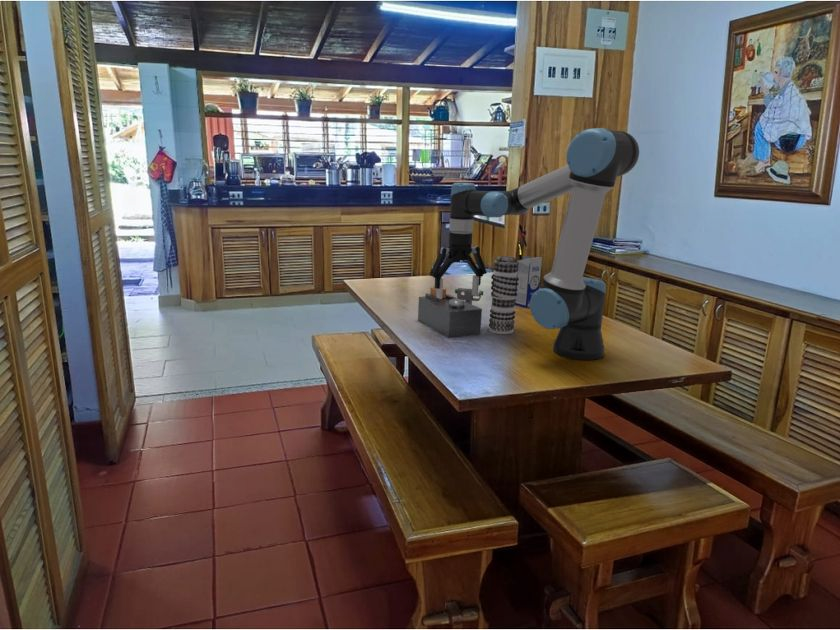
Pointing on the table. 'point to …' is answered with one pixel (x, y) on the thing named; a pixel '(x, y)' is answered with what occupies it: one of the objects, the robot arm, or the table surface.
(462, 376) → the table surface
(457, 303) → the pin
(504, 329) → the decorative candle
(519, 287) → the milk carton
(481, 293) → the mechanical component
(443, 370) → the table surface
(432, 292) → the block
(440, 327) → the hitch block
